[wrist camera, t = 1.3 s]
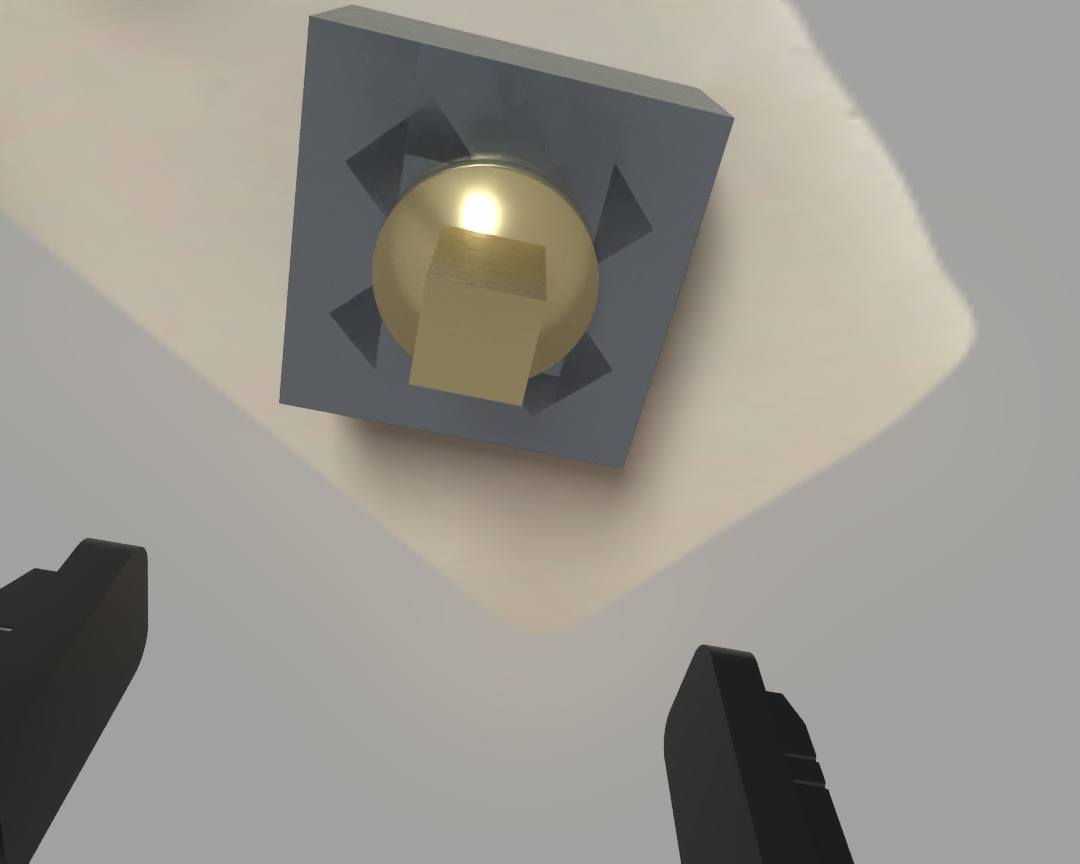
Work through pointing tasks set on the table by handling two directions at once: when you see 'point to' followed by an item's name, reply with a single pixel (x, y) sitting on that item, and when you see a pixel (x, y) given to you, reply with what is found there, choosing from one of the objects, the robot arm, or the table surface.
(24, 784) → the robot arm
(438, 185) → the end cover
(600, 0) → the table surface
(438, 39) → the housing
